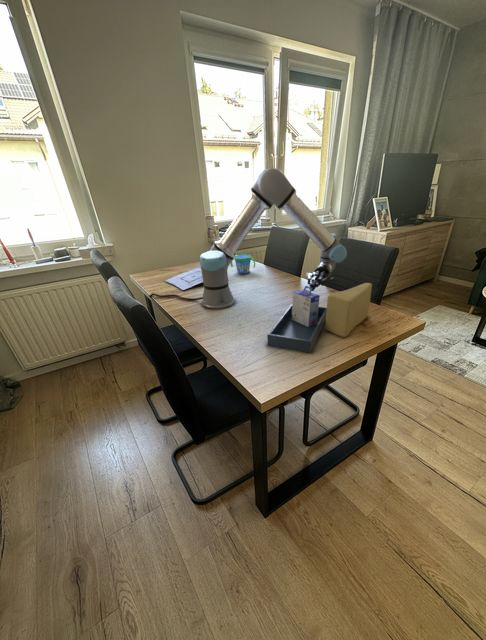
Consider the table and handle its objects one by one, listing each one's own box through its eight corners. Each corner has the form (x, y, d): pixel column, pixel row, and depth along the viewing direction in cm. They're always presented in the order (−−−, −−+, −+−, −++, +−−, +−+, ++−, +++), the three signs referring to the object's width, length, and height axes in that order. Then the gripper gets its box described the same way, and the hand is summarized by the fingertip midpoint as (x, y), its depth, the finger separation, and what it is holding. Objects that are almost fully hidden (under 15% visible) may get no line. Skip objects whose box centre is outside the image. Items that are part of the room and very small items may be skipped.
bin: (267, 345, 100) (267, 334, 97) (291, 312, 123) (291, 303, 121) (310, 353, 95) (311, 341, 92) (326, 317, 118) (327, 307, 115)
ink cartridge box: (318, 323, 112) (321, 289, 105) (308, 327, 109) (311, 292, 102) (300, 316, 119) (301, 283, 111) (291, 320, 116) (292, 286, 108)
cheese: (355, 313, 121) (360, 279, 113) (376, 320, 114) (383, 284, 106) (323, 329, 109) (327, 293, 101) (344, 338, 102) (350, 300, 94)
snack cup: (257, 270, 180) (257, 254, 175) (252, 275, 172) (251, 258, 166) (235, 269, 184) (234, 253, 179) (229, 274, 176) (227, 257, 170)
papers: (228, 276, 167) (227, 270, 165) (184, 294, 153) (182, 288, 151) (207, 268, 183) (206, 263, 181) (166, 284, 169) (164, 279, 167)
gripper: (335, 280, 135) (326, 297, 116) (309, 278, 139) (296, 294, 120) (337, 265, 131) (328, 280, 112) (310, 263, 135) (297, 277, 116)
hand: (311, 287), depth 116 cm, fingers closed
